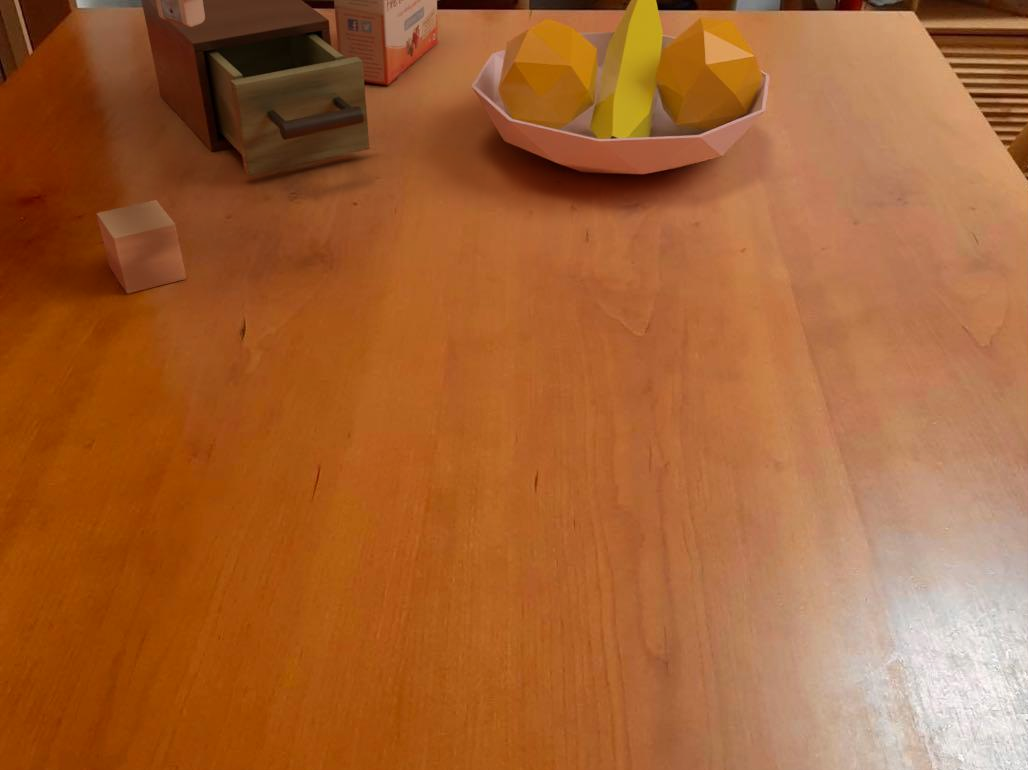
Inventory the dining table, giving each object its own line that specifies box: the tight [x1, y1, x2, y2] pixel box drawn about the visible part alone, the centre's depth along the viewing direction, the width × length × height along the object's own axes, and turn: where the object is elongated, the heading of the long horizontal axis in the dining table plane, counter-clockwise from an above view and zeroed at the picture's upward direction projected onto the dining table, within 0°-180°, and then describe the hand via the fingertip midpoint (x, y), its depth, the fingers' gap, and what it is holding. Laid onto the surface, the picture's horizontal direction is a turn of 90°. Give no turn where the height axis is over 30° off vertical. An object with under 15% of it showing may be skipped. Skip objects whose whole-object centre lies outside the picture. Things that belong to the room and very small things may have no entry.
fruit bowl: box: [470, 0, 771, 175], centre depth 105 cm, size 28×27×11 cm
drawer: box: [204, 32, 370, 176], centre depth 103 cm, size 19×11×8 cm, turn 30°
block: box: [96, 199, 187, 295], centre depth 88 cm, size 5×5×5 cm
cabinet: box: [141, 0, 332, 152], centre depth 110 cm, size 16×13×10 cm
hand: (182, 21), depth 83 cm, fingers closed
